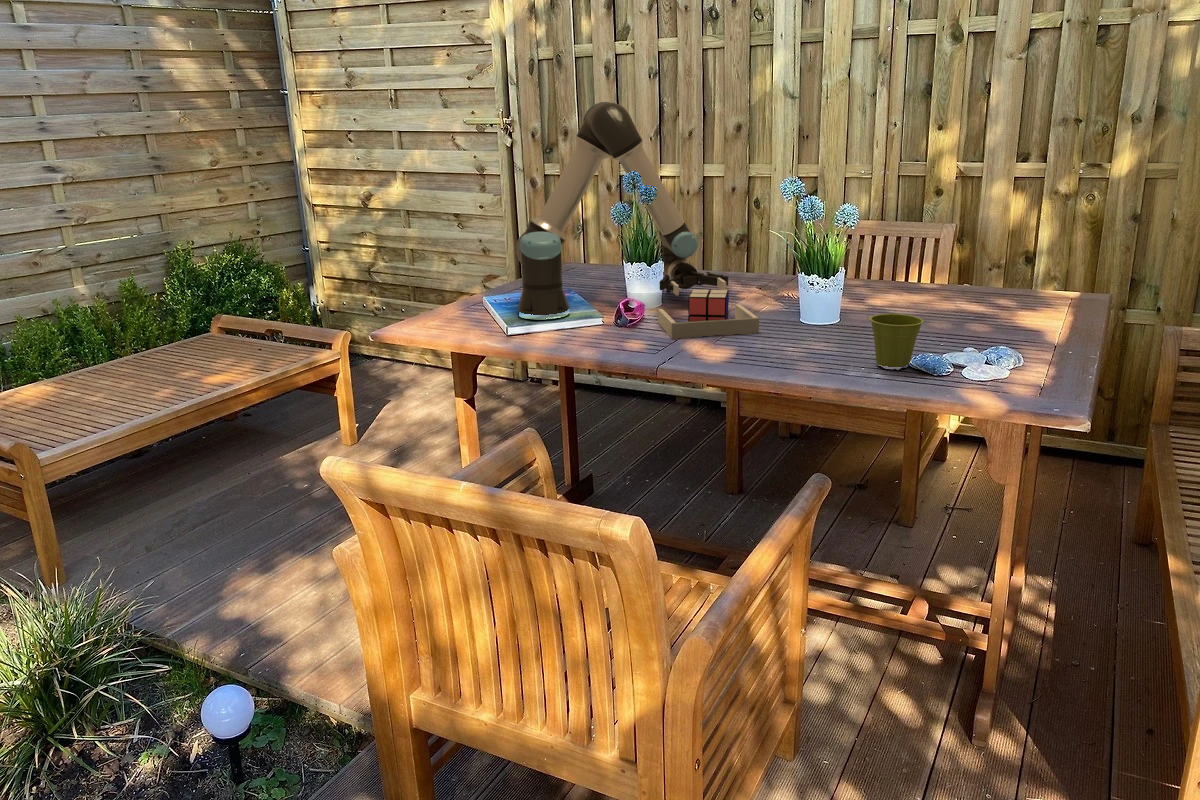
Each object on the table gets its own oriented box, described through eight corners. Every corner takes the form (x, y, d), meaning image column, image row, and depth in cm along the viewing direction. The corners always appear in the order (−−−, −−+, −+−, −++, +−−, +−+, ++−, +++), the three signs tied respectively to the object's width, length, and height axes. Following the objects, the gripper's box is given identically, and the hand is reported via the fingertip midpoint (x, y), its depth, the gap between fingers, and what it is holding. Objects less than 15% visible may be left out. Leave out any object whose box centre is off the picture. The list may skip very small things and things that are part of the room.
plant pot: (928, 372, 211) (932, 324, 207) (876, 375, 210) (880, 326, 206) (907, 358, 222) (911, 311, 218) (859, 360, 221) (862, 314, 217)
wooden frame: (658, 323, 260) (658, 309, 259) (739, 318, 264) (739, 304, 262) (672, 338, 244) (672, 324, 243) (758, 333, 247) (759, 318, 246)
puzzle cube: (725, 334, 247) (726, 297, 244) (687, 333, 249) (688, 297, 246) (728, 325, 256) (728, 289, 253) (691, 324, 258) (692, 289, 255)
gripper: (723, 283, 283) (744, 298, 263) (642, 289, 279) (657, 305, 259) (723, 259, 280) (744, 272, 260) (641, 265, 277) (657, 278, 257)
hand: (701, 288), depth 260 cm, fingers open, 13 cm apart
